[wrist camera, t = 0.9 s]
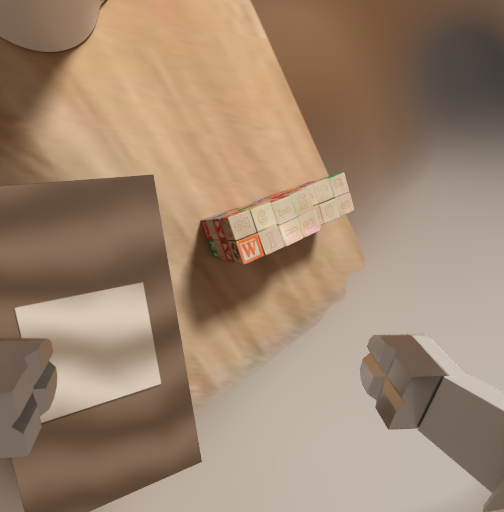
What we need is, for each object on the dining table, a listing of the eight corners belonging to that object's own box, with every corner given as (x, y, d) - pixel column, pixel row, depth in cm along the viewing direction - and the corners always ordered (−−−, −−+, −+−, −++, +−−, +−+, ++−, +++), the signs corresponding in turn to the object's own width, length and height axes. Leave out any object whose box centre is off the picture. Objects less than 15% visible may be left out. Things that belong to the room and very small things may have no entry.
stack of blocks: (309, 180, 59) (359, 168, 47) (319, 214, 60) (370, 210, 49) (199, 220, 51) (227, 216, 39) (212, 258, 52) (244, 265, 41)
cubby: (4, 207, 40) (-57, 189, 24) (134, 194, 46) (153, 174, 31) (55, 429, 44) (30, 540, 28) (169, 391, 50) (202, 463, 34)
